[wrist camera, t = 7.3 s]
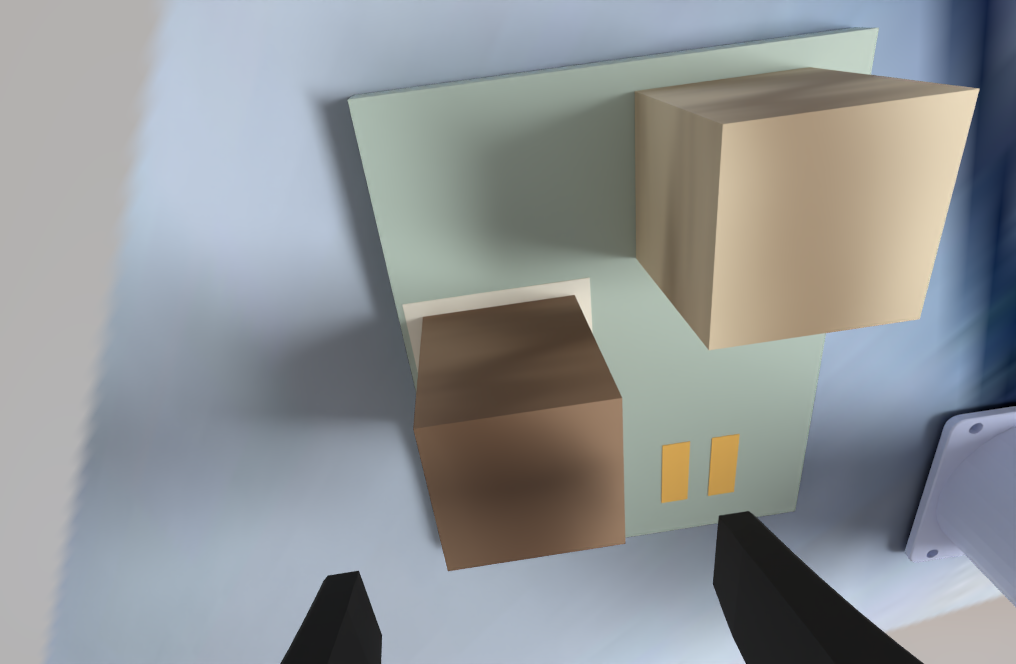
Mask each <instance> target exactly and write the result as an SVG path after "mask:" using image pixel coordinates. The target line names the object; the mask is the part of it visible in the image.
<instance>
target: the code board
mask: <svg viewBox="0 0 1016 664" xmlns="http://www.w3.org/2000/svg"><path fill="white" fill-rule="evenodd" d="M878 30H879V28H856V27H854V28H847V29H839V30H832V31H825V32H817V33H810V34H802V35H795V36H788V37H780V38H773V39H765V40H758V41H751V42H743V43H736V44H728V45H721V46H714V47H706V48H699V49H691V50H684V51H677V52H669V53H662V54H654V55H647V56H640V57H632V58H625V59H617V60H610V61H602V62H595V63H588V64H580V65H573V66H565V67H558V68H551V69H543V70H536V71H528V72H521V73H514V74H506V75H499V76H491V77H484V78H477V79H469V80H462V81H454V82H447V83H440V84H432V85H425V86H417V87H410V88H403V89H395V90H388V91H380V92H373V93H366V94H358V95H353V96H352V97H350V98H349V99H348V104H349V108H350V113H351V117H352V121H353V126H354V130H355V134H356V138H357V143H358V147H359V151H360V155H361V160H362V164H363V168H364V172H365V177H366V181H367V185H368V190H369V194H370V198H371V202H372V207H373V211H374V215H375V219H376V224H377V228H378V232H379V237H380V241H381V245H382V249H383V254H384V258H385V262H386V266H387V271H388V275H389V279H390V283H391V288H392V292H393V296H394V301H395V305H396V309H397V313H398V318H399V322H400V326H401V330H402V335H403V339H404V343H405V348H406V352H407V356H408V360H409V365H410V369H411V373H412V377H413V382H414V386H415V390H416V391H417V379H418V367H419V355H420V344H421V332H422V320H423V317H425V316H432V315H439V314H446V313H452V312H459V311H466V310H473V309H480V308H487V307H494V306H501V305H508V304H515V303H522V302H529V301H536V300H543V299H550V298H557V297H564V296H571V295H575V297H576V299H577V301H578V303H579V305H580V308H581V310H582V312H583V314H584V316H585V318H586V321H587V323H588V325H589V327H590V329H591V331H592V334H593V336H594V338H595V340H596V342H597V344H598V346H599V349H600V351H601V353H602V355H603V357H604V359H605V362H606V364H607V366H608V368H609V370H610V372H611V375H612V377H613V379H614V381H615V383H616V385H617V388H618V390H619V392H620V394H621V396H622V407H623V454H624V500H625V538H627V537H633V536H640V535H646V534H652V533H659V532H665V531H672V530H678V529H684V528H691V527H697V526H704V525H710V524H716V523H718V518H719V515H725V514H732V513H739V512H745V511H750V512H751V513H752V514H754V515H755V516H756V517H761V516H768V515H774V514H780V513H787V512H793V511H795V509H796V503H797V497H798V492H799V486H800V480H801V474H802V469H803V463H804V457H805V451H806V445H807V440H808V434H809V428H810V422H811V417H812V411H813V405H814V399H815V394H816V388H817V382H818V376H819V370H820V365H821V359H822V353H823V347H824V342H825V336H826V333H823V334H816V335H809V336H803V337H796V338H789V339H782V340H776V341H769V342H762V343H756V344H749V345H742V346H735V347H729V348H722V349H715V350H708V349H707V347H706V346H705V345H704V344H703V342H702V341H701V340H700V339H699V337H698V336H697V335H696V334H695V332H694V331H693V330H692V328H691V327H690V326H689V325H688V323H687V322H686V321H685V320H684V318H683V317H682V316H681V315H680V313H679V312H678V311H677V310H676V308H675V307H674V306H673V304H672V303H671V302H670V301H669V299H668V298H667V297H666V296H665V294H664V293H663V292H662V291H661V289H660V288H659V287H658V286H657V284H656V283H655V282H654V280H653V279H652V278H651V277H650V275H649V274H648V273H647V272H646V270H645V269H644V268H643V267H642V265H641V264H640V263H639V262H638V260H637V259H636V197H635V91H639V90H646V89H653V88H661V87H668V86H675V85H683V84H690V83H697V82H704V81H712V80H719V79H726V78H734V77H741V76H748V75H756V74H763V73H770V72H778V71H785V70H792V69H800V68H807V67H813V68H821V69H829V70H837V71H845V72H852V73H860V74H868V75H871V70H872V64H873V59H874V53H875V47H876V41H877V36H878Z"/></svg>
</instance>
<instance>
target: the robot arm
mask: <svg viewBox="0 0 1016 664" xmlns="http://www.w3.org/2000/svg"><path fill="white" fill-rule="evenodd" d="M905 554H906V556H907V557H908V558H909V559H910V560H911V561H912V562H924V561H930V560H936V559H942V558H949V557H955V556H961V555H966V556H967V557H968V558H969V559H970V560H971V561H972V562H973V563H974V565H975V566H976V567H977V568H978V569H979V570H980V571H981V572H982V573H983V574H984V575H985V576H986V577H987V578H988V579H989V580H990V581H991V582H992V583H993V584H994V585H995V586H996V587H997V588H998V589H999V590H1000V591H1001V592H1002V593H1003V594H1004V595H1005V597H1006V598H1007V599H1008V600H1010V602H1011V603H1012V604H1013V605H1014V606H1015V607H1016V406H1013V407H1006V408H1000V409H993V410H987V411H980V412H974V413H967V414H961V415H956V416H953V417H952V418H950V419H949V420H948V421H947V422H946V423H945V425H944V428H943V431H942V434H941V438H940V441H939V444H938V447H937V450H936V453H935V457H934V460H933V463H932V466H931V469H930V473H929V476H928V479H927V482H926V485H925V488H924V492H923V495H922V498H921V501H920V504H919V507H918V511H917V514H916V517H915V520H914V523H913V527H912V530H911V533H910V536H909V539H908V542H907V546H906V549H905ZM713 585H714V588H715V591H716V594H717V596H718V599H719V602H720V605H721V607H722V610H723V613H724V615H725V618H726V621H727V623H728V626H729V628H730V631H731V634H732V636H733V638H734V640H735V642H736V644H737V646H738V649H739V651H740V653H741V655H742V657H743V659H744V661H745V663H746V664H924V663H922V662H921V661H920V660H918V659H917V658H916V657H914V656H913V655H912V654H911V653H909V652H908V651H907V650H905V649H904V648H903V647H902V646H900V645H899V644H898V643H897V642H895V641H894V640H893V639H892V638H891V637H889V636H888V635H887V634H886V633H884V632H883V631H882V630H881V629H879V628H878V627H877V626H876V625H875V624H873V623H872V622H871V621H870V620H869V619H867V618H866V617H865V616H864V615H863V614H861V613H860V612H859V611H858V610H857V609H855V608H854V607H853V606H852V605H851V604H850V603H849V602H848V601H846V600H845V599H844V598H843V597H842V596H841V595H840V594H838V593H837V592H836V591H835V590H834V589H833V588H832V587H830V586H829V585H828V584H827V583H826V582H825V581H824V580H822V579H821V578H820V577H819V576H818V575H817V574H816V573H815V572H814V571H813V570H811V569H810V568H809V567H808V566H807V565H806V564H805V563H804V562H803V561H802V560H801V559H800V558H799V557H797V556H796V555H795V554H794V553H793V552H792V551H791V550H790V549H789V548H788V547H787V546H786V545H785V544H784V543H783V542H782V541H780V540H779V539H778V538H777V537H776V536H775V535H774V534H773V533H772V532H771V531H770V530H769V529H768V528H767V527H766V526H765V525H764V524H763V523H762V522H761V521H760V520H759V519H758V518H757V517H756V516H755V515H754V514H752V513H751V512H750V511H745V512H739V513H732V514H725V515H719V518H718V530H717V542H716V553H715V565H714V577H713ZM381 649H382V634H381V631H380V629H379V626H378V623H377V620H376V617H375V615H374V612H373V609H372V606H371V603H370V601H369V598H368V595H367V592H366V589H365V587H364V584H363V581H362V578H361V575H360V573H359V571H355V572H348V573H342V574H335V575H329V576H327V577H326V579H325V580H324V581H323V583H322V585H321V587H320V589H319V591H318V593H317V595H316V597H315V599H314V601H313V603H312V605H311V607H310V609H309V611H308V613H307V615H306V617H305V619H304V621H303V623H302V625H301V627H300V629H299V631H298V632H297V634H296V636H295V638H294V640H293V642H292V644H291V646H290V647H289V649H288V651H287V653H286V655H285V656H284V658H283V660H282V662H281V663H280V664H381Z"/></svg>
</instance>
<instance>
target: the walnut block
mask: <svg viewBox="0 0 1016 664" xmlns="http://www.w3.org/2000/svg"><path fill="white" fill-rule="evenodd" d="M413 430H414V434H415V438H416V442H417V446H418V450H419V454H420V459H421V463H422V467H423V471H424V475H425V479H426V483H427V487H428V491H429V495H430V500H431V504H432V508H433V512H434V516H435V520H436V524H437V528H438V532H439V537H440V541H441V545H442V549H443V553H444V557H445V561H446V565H447V569H448V571H452V570H459V569H465V568H472V567H478V566H484V565H491V564H497V563H504V562H510V561H517V560H523V559H530V558H536V557H542V556H549V555H555V554H562V553H568V552H575V551H581V550H588V549H594V548H600V547H607V546H613V545H620V544H625V500H624V454H623V407H622V396H621V394H620V392H619V390H618V388H617V385H616V383H615V381H614V379H613V377H612V375H611V372H610V370H609V368H608V366H607V364H606V362H605V359H604V357H603V355H602V353H601V351H600V349H599V346H598V344H597V342H596V340H595V338H594V336H593V334H592V331H591V329H590V327H589V325H588V323H587V321H586V318H585V316H584V314H583V312H582V310H581V308H580V305H579V303H578V301H577V299H576V297H575V295H571V296H564V297H557V298H550V299H543V300H536V301H529V302H522V303H515V304H508V305H501V306H494V307H487V308H480V309H473V310H466V311H459V312H452V313H446V314H439V315H432V316H425V317H423V320H422V332H421V344H420V355H419V367H418V379H417V391H416V403H415V415H414V426H413Z"/></svg>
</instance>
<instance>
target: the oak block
mask: <svg viewBox="0 0 1016 664" xmlns="http://www.w3.org/2000/svg"><path fill="white" fill-rule="evenodd" d="M978 92H979V89H977V88H970V87H962V86H954V85H946V84H938V83H931V82H923V81H915V80H907V79H899V78H892V77H884V76H876V75H868V74H860V73H852V72H845V71H837V70H829V69H821V68H813V67H807V68H800V69H792V70H785V71H778V72H770V73H763V74H756V75H748V76H741V77H734V78H726V79H719V80H712V81H704V82H697V83H690V84H683V85H675V86H668V87H661V88H653V89H646V90H639V91H635V197H636V259H637V260H638V262H639V263H640V264H641V265H642V267H643V268H644V269H645V270H646V272H647V273H648V274H649V275H650V277H651V278H652V279H653V280H654V282H655V283H656V284H657V286H658V287H659V288H660V289H661V291H662V292H663V293H664V294H665V296H666V297H667V298H668V299H669V301H670V302H671V303H672V304H673V306H674V307H675V308H676V310H677V311H678V312H679V313H680V315H681V316H682V317H683V318H684V320H685V321H686V322H687V323H688V325H689V326H690V327H691V328H692V330H693V331H694V332H695V334H696V335H697V336H698V337H699V339H700V340H701V341H702V342H703V344H704V345H705V346H706V347H707V349H708V350H715V349H722V348H729V347H735V346H742V345H749V344H756V343H762V342H769V341H776V340H782V339H789V338H796V337H803V336H809V335H816V334H823V333H830V332H836V331H843V330H850V329H856V328H863V327H870V326H877V325H883V324H890V323H897V322H904V321H910V320H917V319H920V316H921V312H922V308H923V304H924V300H925V296H926V292H927V289H928V285H929V281H930V277H931V273H932V269H933V266H934V262H935V258H936V254H937V250H938V246H939V242H940V239H941V235H942V231H943V227H944V223H945V219H946V215H947V212H948V208H949V204H950V200H951V196H952V192H953V189H954V185H955V181H956V177H957V173H958V169H959V165H960V162H961V158H962V154H963V150H964V146H965V142H966V138H967V135H968V131H969V127H970V123H971V119H972V115H973V112H974V108H975V104H976V100H977V96H978Z"/></svg>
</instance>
